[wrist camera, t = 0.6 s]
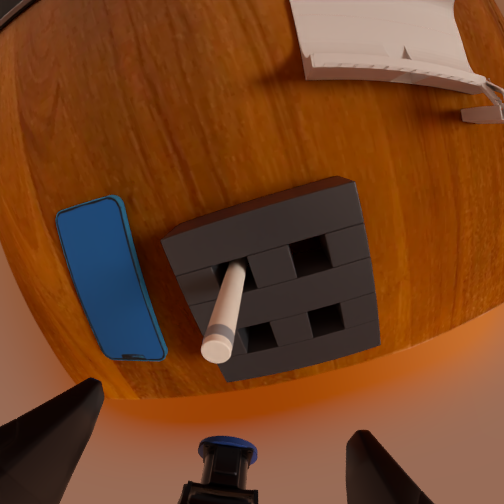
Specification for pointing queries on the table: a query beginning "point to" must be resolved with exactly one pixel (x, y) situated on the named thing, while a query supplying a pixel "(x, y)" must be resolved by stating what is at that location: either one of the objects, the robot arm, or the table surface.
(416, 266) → the table surface
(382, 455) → the robot arm
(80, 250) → the smartphone
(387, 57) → the skate ramp
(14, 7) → the external hard drive
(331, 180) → the pen stand
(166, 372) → the table surface
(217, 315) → the stylus
